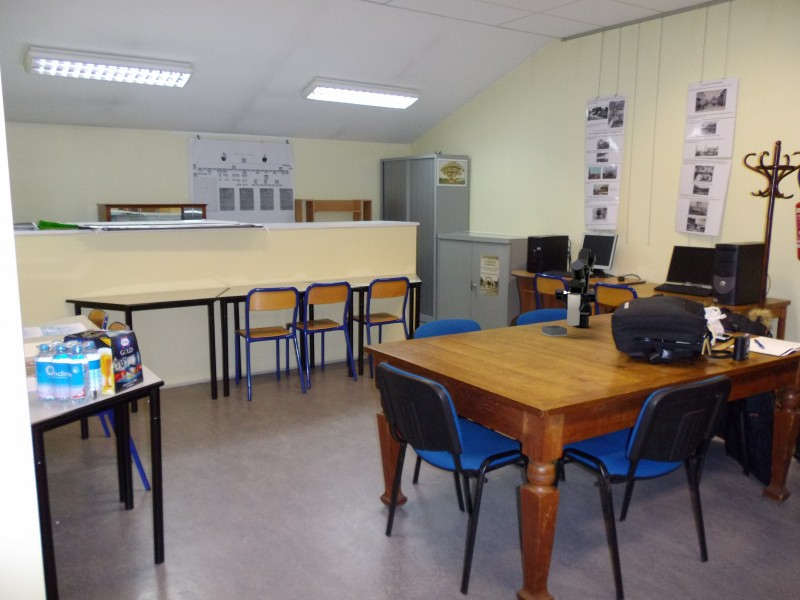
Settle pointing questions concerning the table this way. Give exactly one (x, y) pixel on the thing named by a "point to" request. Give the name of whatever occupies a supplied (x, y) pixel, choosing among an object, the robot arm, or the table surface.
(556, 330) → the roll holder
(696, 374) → the table surface
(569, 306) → the paper towel roll
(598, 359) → the table surface
